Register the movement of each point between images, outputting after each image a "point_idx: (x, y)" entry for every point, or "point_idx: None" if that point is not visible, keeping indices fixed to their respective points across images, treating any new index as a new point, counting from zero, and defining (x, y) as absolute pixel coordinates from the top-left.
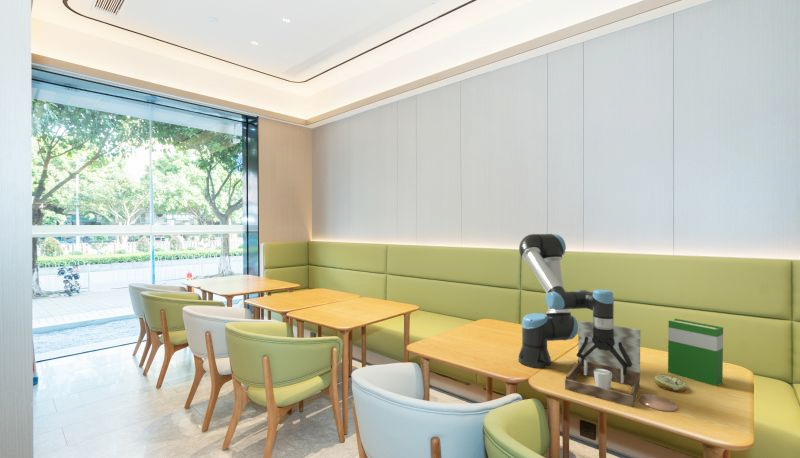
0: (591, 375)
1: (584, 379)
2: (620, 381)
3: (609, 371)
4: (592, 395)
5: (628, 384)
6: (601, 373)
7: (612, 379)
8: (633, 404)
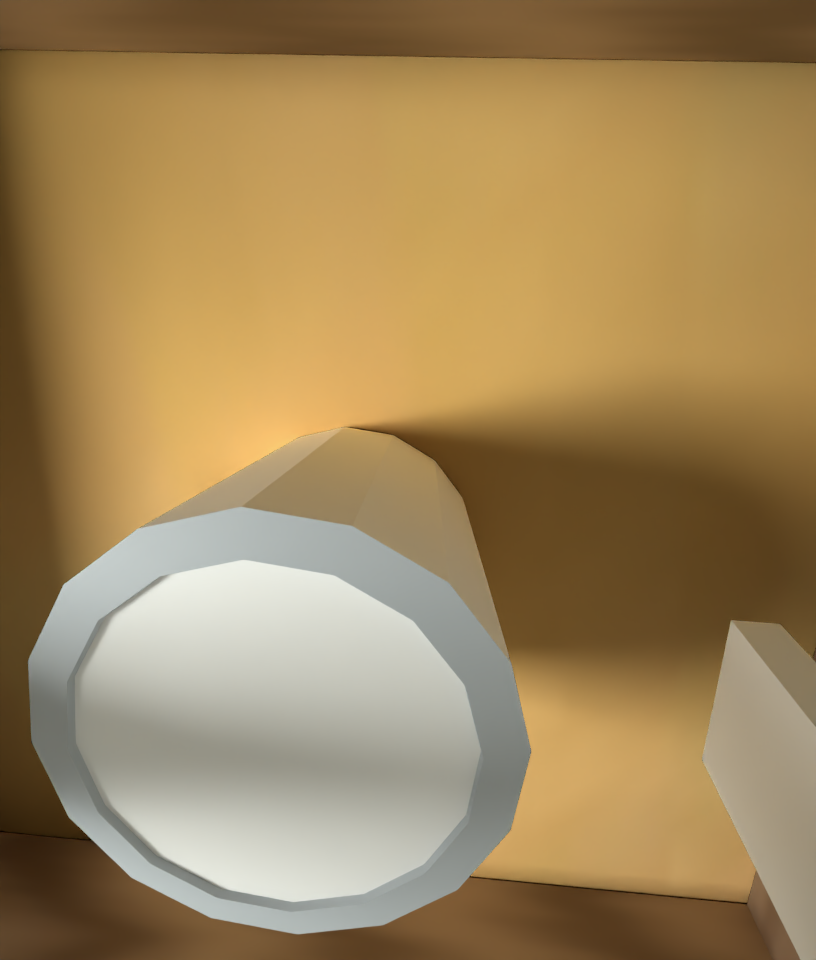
0: (29, 40)
1: (5, 334)
2: (646, 45)
3: (443, 657)
4: None
5: (808, 54)
6: (272, 876)
7: (470, 40)
8: None
